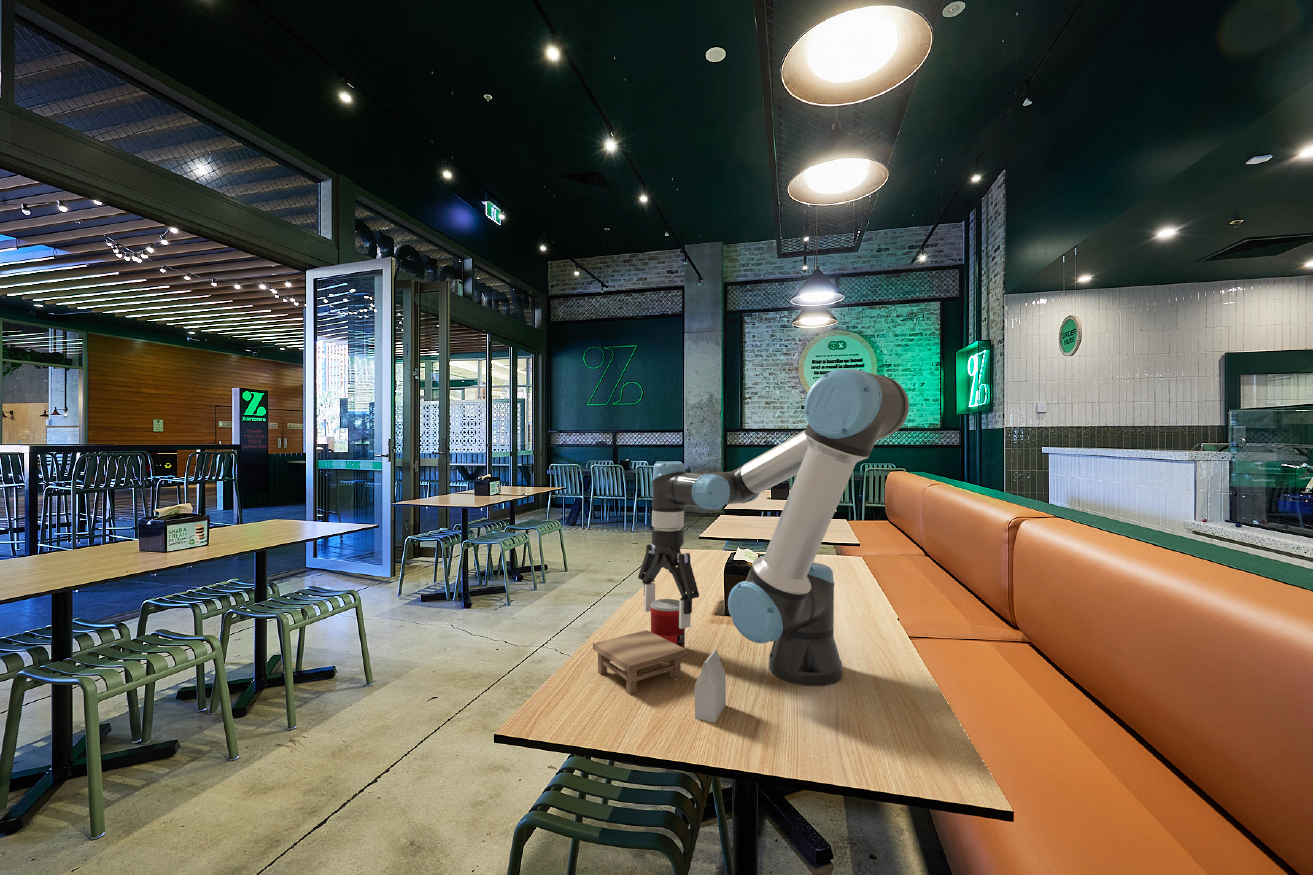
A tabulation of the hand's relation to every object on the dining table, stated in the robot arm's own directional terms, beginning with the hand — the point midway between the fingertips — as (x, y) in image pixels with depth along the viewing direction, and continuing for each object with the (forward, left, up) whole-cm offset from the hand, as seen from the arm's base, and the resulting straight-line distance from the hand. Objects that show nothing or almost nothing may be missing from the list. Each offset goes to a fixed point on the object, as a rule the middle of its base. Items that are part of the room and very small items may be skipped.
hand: (666, 618), depth 124 cm
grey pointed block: (-27, +11, -8) cm, 30 cm away
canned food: (0, 0, -8) cm, 8 cm away
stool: (-7, +13, -7) cm, 17 cm away
